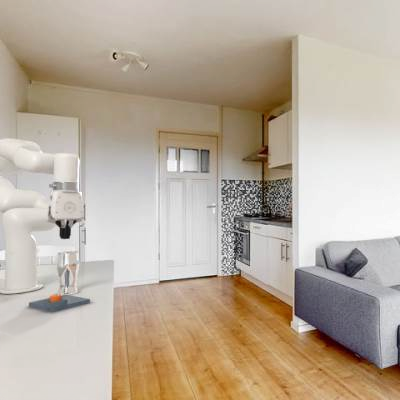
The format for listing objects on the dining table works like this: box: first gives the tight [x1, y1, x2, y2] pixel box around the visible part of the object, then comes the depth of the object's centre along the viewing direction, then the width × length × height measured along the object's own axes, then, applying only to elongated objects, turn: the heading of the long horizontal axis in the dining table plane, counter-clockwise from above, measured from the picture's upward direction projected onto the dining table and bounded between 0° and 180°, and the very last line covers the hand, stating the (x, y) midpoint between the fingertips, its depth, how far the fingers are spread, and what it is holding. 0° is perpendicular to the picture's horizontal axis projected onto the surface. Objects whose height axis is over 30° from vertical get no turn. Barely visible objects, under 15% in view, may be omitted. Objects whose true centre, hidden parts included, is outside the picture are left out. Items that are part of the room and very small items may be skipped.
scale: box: [28, 294, 91, 313], centre depth 110 cm, size 14×12×3 cm
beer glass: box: [55, 250, 80, 295], centre depth 126 cm, size 7×7×15 cm
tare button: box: [49, 293, 62, 302], centre depth 105 cm, size 3×3×2 cm
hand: (65, 238), depth 123 cm, fingers closed
